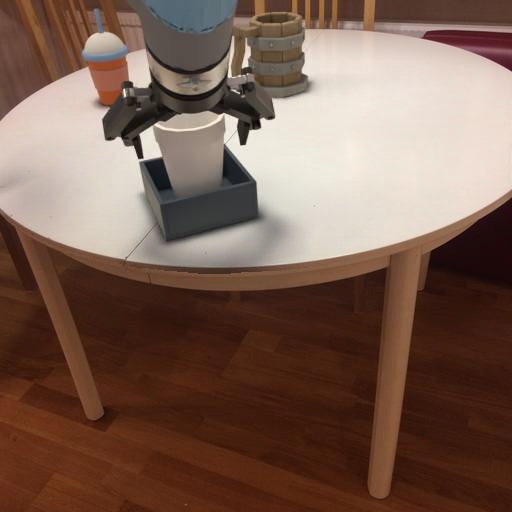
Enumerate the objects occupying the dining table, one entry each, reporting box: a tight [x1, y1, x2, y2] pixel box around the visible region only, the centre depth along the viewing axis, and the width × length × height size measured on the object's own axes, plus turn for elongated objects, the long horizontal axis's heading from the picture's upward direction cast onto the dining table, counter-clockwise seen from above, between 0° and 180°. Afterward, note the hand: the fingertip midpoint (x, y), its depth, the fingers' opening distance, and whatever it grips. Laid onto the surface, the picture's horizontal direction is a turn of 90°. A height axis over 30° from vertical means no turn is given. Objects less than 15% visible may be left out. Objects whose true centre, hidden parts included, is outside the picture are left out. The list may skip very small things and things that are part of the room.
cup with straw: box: [81, 8, 130, 106], centre depth 106 cm, size 9×9×18 cm
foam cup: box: [152, 111, 227, 199], centre depth 72 cm, size 10×9×13 cm
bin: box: [138, 142, 259, 241], centre depth 74 cm, size 13×13×6 cm
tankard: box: [230, 11, 309, 98], centre depth 108 cm, size 20×13×15 cm, turn 123°
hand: (191, 142), depth 70 cm, fingers open, 13 cm apart
